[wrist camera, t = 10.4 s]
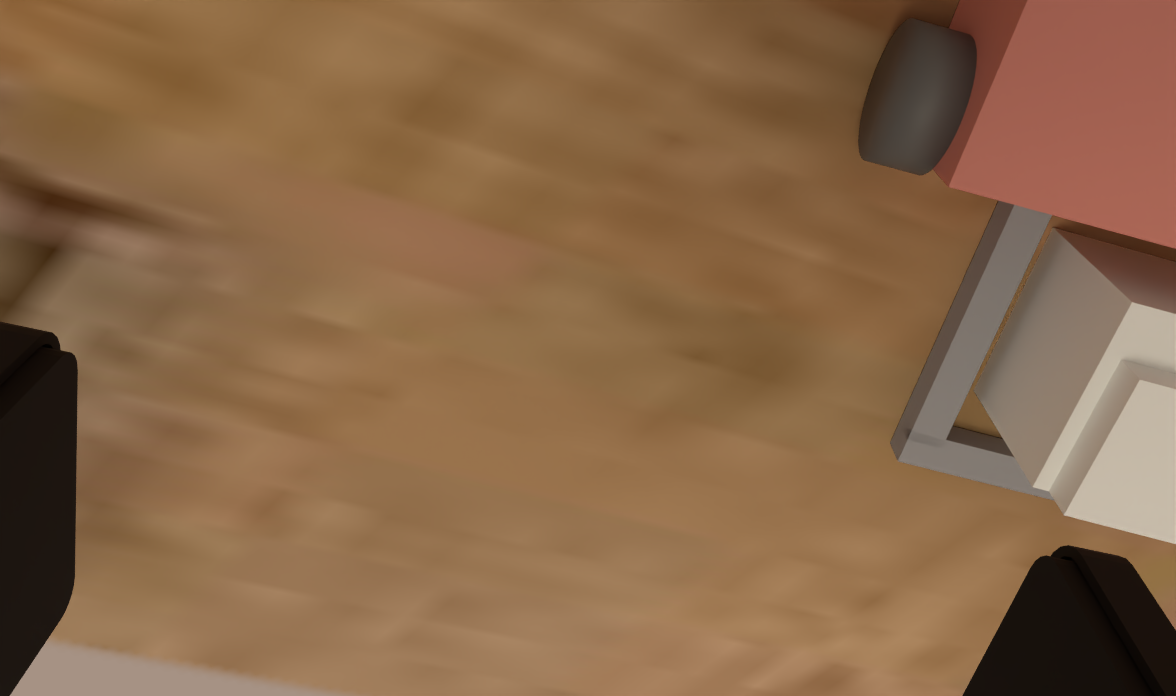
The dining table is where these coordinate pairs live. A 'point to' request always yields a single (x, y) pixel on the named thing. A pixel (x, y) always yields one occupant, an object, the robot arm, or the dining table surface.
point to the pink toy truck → (1022, 166)
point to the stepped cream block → (1092, 383)
